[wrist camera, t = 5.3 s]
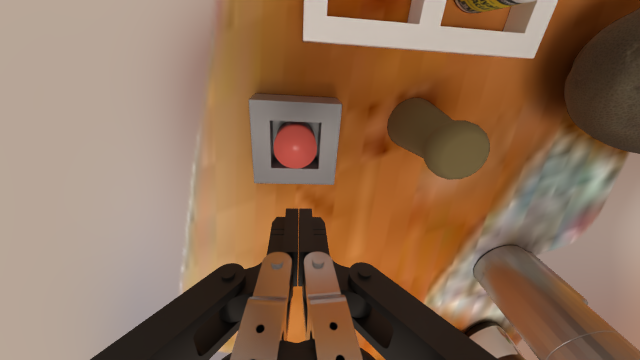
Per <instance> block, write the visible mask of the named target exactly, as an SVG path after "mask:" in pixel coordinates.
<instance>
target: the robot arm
mask: <svg viewBox="0 0 640 360" xmlns="http://www.w3.org/2000/svg"><path fill="white" fill-rule="evenodd" d="M297 269H298V286H302V304H303V315H304V326H305V337H306V341H303V342H300V343H293V342H289V341H287V335H288V327H289V319H290V310H291V300H292V296H293V286H297ZM474 276H475V278H476V279H477V281H478V282H479V283H480V285H481V286H482V287H483V288H484V290H485V291H486V292H487V293H488V295H489V296H490V297H491V299H492V300H493V301H494V303H495V304H496V305H497V306H498V308H499V309H500V310H501V312H502V313H503V314H504V315H505V317H506V318H507V319H508V320H509V322H510V323H511V324H512V326H513V327H514V328H515V329H516V331H517V332H518V333H519V334H520V336H521V337H522V338H523V340H524V341H525V342H526V343H527V344H528V346H529V347H530V349H531V350H532V351H533V352H534V354H535V355H536V356H537V357H538V359H539V360H640V351H639V350H638V349H637V348H636V347H635V346H633V345H632V344H631V343H630V342H629V341H628V340H627V339H625V338H624V337H623V336H622V335H621V334H620V333H618V332H617V331H616V330H615V329H614V328H613V327H612V326H610V325H609V324H608V323H607V322H606V321H605V320H604V319H602V318H601V317H600V316H599V315H598V314H597V313H596V312H594V311H593V310H592V309H591V308H590V307H589V306H588V302H587V300H586V299H585V298H584V297H583V296H582V295H580V294H579V293H578V292H577V291H576V290H574V289H573V288H572V287H571V286H570V285H569V284H568V283H566V282H565V281H564V280H563V279H562V278H561V277H559V276H558V275H557V274H556V273H555V272H554V271H552V270H551V269H550V268H549V267H548V266H547V265H545V264H544V263H543V262H542V261H541V260H540V259H538V258H537V257H536V256H535V255H534V254H533V253H531V252H526V251H525V250H524V249H522V248H521V247H519V246H514V245H508V246H502V247H499V248H496V249H494V250H492V251H490V252H488V253H487V254H485V255H484V256H483V257H482V258H481V259H480V260H479V261H478V262H477V264H476V265H475V268H474ZM354 328H355V329H356V330H357V331H358V332H359V333H360V334H361V335H362V336H363V337H364V338H365V339H366V340H367V341H368V342H369V343H370V344H371V345H372V346H373V347H374V348H375V349H376V350H377V351H378V352H379V353H380V354H381V355H382V356H383V357H384V358H385V359H386V360H499V359H497V358H496V357H494V356H493V355H492V354H490V353H489V352H488V351H486V350H485V349H484V348H482V347H481V346H480V345H478V344H477V343H476V342H474V341H473V340H472V339H470V338H469V337H468V336H466V335H465V334H464V333H462V332H461V331H459V330H458V329H457V328H455V327H454V326H453V325H451V324H450V323H449V322H447V321H446V320H445V319H443V318H442V317H441V316H439V315H438V314H437V313H435V312H434V311H433V310H431V309H430V308H429V307H427V306H426V305H424V304H423V303H422V302H420V301H419V300H418V299H416V298H415V297H414V296H412V295H411V294H410V293H408V292H407V291H406V290H404V289H403V288H402V287H400V286H399V285H398V284H396V283H395V282H394V281H392V280H391V279H389V278H388V277H387V276H385V275H384V274H383V273H381V272H380V271H379V270H377V269H376V268H375V267H373V266H372V265H370V264H367V263H362V262H360V263H355V264H354V265H352V266H351V267H350V268H348V267H344V266H341V265H339V264H337V263H335V262H334V261H333V260H332V259H331V257H330V255H329V249H328V242H327V235H326V228H325V223H324V221H323V220H322V219H321V217H312V209H299V268H298V209H286V216H285V217H276V219H275V220H274V221H273V222H272V227H271V233H270V239H269V246H268V252H267V256H266V257H265V258H264V259H263V261H262V263H260V264H259V265H257V266H255V267H252V268H248V269H244V268H243V267H242V266H241V265H239V264H235V263H231V264H226V265H223V266H221V267H219V268H218V269H216V270H215V271H214V272H212V273H211V274H209V275H208V276H207V277H205V278H204V279H202V280H201V281H200V282H198V283H197V284H195V285H194V286H193V287H191V288H190V289H188V290H187V291H186V292H184V293H183V294H181V295H180V296H179V297H177V298H176V299H174V300H173V301H172V302H170V303H169V304H167V305H166V306H164V307H163V308H162V309H160V310H159V311H157V312H156V313H155V314H153V315H152V316H151V317H149V318H148V319H146V320H145V321H143V322H142V323H141V324H139V325H138V326H136V327H135V328H134V329H132V330H131V331H129V332H128V333H127V334H125V335H124V336H122V337H121V338H120V339H118V340H117V341H115V342H114V343H113V344H111V345H110V346H108V347H107V348H106V349H104V350H103V351H102V352H100V353H99V354H97V355H96V356H94V357H93V358H92V359H90V360H209V359H210V358H211V357H212V356H213V355H214V354H215V353H216V352H217V351H218V350H219V349H220V348H221V347H222V346H223V345H224V344H225V343H226V342H227V341H228V340H229V339H230V338H231V337H232V336H233V335H234V334H235V333H236V332H237V331H238V330H239V331H238V334H237V337H236V341H235V344H234V347H233V351H232V353H230V354H229V355H227V356H226V357H224V358H223V359H222V360H375V359H374V358H373V357H372V356H371V355H370V354H369V353H368V352H366V351H365V350H363V349H362V348H360V347H359V344H358V340H357V336H356V333H355V329H354Z"/></svg>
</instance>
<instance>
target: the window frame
mask: <svg viewBox="0 0 640 360" xmlns="http://www.w3.org/2000/svg"><path fill="white" fill-rule="evenodd" d="M557 2H558V0H536V1H532V2H529V3H524V4H519V5H515V6H511V9H510V12H509V15H508V18H507V21H506V24H505V26H504V29H503V32H501V31H490V30H479V29H467V28H456V27H445V26H440V24H441V20H442V16H443V12H444V8H445V4H446V0H412V1H411V6H410V11H409V17H408V22H407V23H400V22H389V21H377V20H366V19H355V18H343V17H332V16H327V4H328V0H304V12H303V42H311V43H324V44H337V45H350V46H363V47H376V48H389V49H402V50H415V51H428V52H440V53H453V54H466V55H479V56H492V57H505V58H534V57H535V54H536V52H537V49H538V47H539V45H540V42H541V40H542V38H543V35H544V33H545V30H546V28H547V26H548V23H549V21H550V18H551V16H552V14H553V11H554V9H555V7H556V4H557Z"/></svg>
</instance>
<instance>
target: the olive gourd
mask: <svg viewBox="0 0 640 360" xmlns="http://www.w3.org/2000/svg"><path fill="white" fill-rule="evenodd" d="M387 129H388V135H389V136H390V138H391V140H392V141H393V142H394V143H396V144H397V145H399V146H401V147H403V148H405V149H406V150H408V151H410V152H412V153H414V154H416V155H418V156H420V157H422V158H424V161H425V163H426V165H427V167H428V168H429V169H430V170H431V171H432V172H433V173H434V174H436V175H437V176H439V177H442V178H445V179H462V178H465V177H468V176H470V175H472V174H473V173H475V172H476V171H477V170H479V169H480V168H481V167H482V166H483V164H484V163H485V161H486V160H487V157H488V154H489V151H490V143H489V139H488V137H487V134H486V133H485V132H484V131H483V130H482V129H481V128H480V127H479V126H478V125H476V124H473V123H471V122H468V121H454V120H452V119H451V118H450V117H448V116H447V115H446V114H445V113H443V112H442V111H441V110H439V109H438V108H437V107H435V106H434V105H433V104H431V103H430V102H429V101H427V100H425V99H422V98H411V99H408V100H405V101H403V102H402V103H400V104H399V105H397V107H396V108H395V109H394V110H393V111H392V113H391V115H390V117H389V119H388V126H387Z"/></svg>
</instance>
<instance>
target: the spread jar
mask: <svg viewBox="0 0 640 360" xmlns="http://www.w3.org/2000/svg"><path fill="white" fill-rule="evenodd" d="M466 336H468V337H469V338H470V339H472V340H473V341H474V342H476V343H477V344H478V345H480V346H481V347H482V348H484V349H485V350H486V351H488V352H489V353H490V354H492V355H493V356H494V357H496V358H497V359H499V360H526V359H525V358H524V356H523V355H522V354H521V352H520V351H519V350H518V348H517V347H516V345H515V344H514V343H513V341H512V340H511V339H510V337H509V336H508V335H507V334H506V332H505V331H504V330H503V329H502V328H501V327H500V326H499V325H498V324H496V323H493V322H484V323H480V324H478V325H475V326H474V327H472V328H471V329H470V330H469V331H468V332H467V334H466Z"/></svg>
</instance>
